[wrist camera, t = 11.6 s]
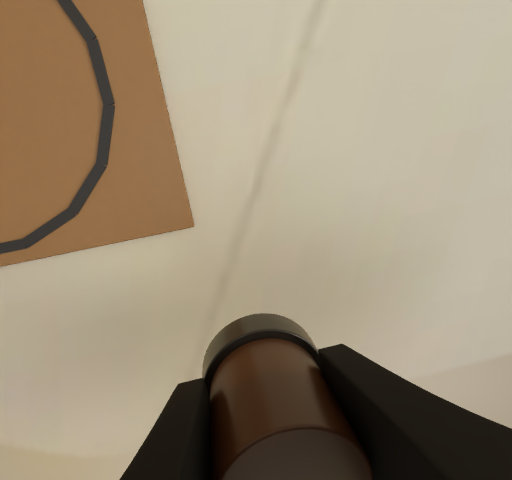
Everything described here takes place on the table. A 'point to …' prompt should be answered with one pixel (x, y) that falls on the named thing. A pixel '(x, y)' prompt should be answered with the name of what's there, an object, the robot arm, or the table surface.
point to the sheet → (82, 130)
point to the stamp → (276, 407)
